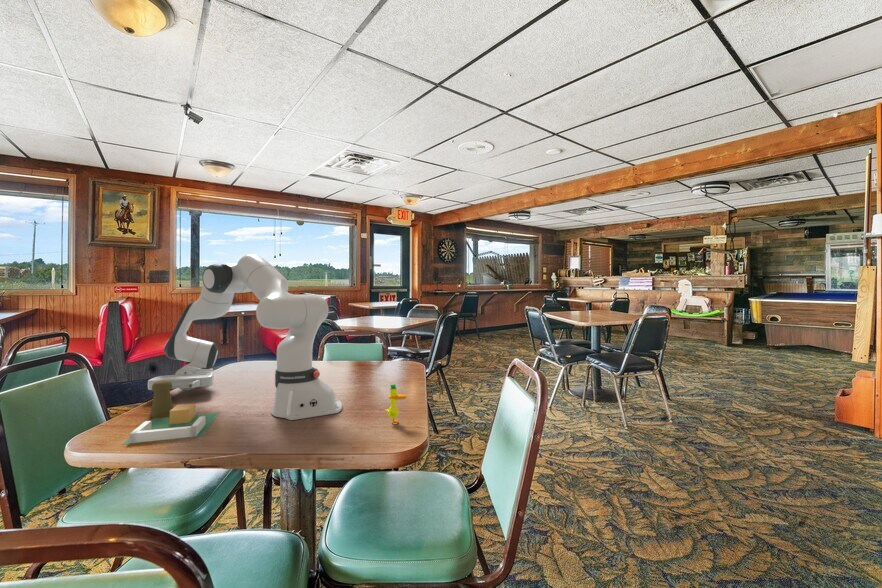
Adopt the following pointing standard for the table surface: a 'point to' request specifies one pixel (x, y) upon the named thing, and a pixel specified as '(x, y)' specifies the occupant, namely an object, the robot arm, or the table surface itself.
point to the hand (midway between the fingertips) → (175, 386)
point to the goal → (165, 432)
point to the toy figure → (394, 402)
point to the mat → (180, 424)
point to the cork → (161, 399)
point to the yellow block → (182, 413)
